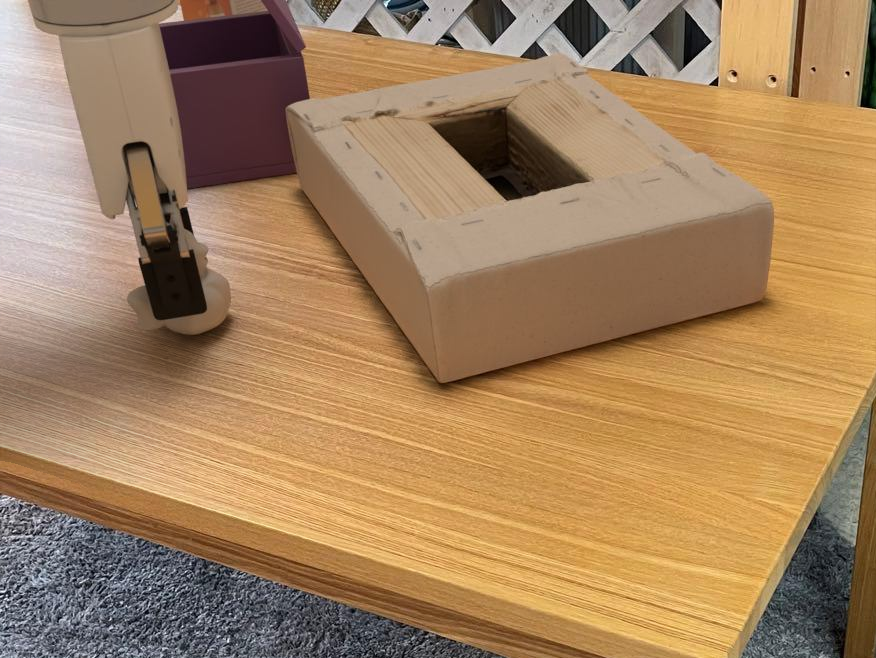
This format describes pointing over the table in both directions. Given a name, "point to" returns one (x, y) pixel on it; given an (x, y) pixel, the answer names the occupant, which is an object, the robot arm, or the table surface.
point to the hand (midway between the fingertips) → (178, 289)
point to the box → (526, 213)
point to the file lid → (285, 22)
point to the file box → (234, 95)
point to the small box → (218, 8)
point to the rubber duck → (213, 290)
